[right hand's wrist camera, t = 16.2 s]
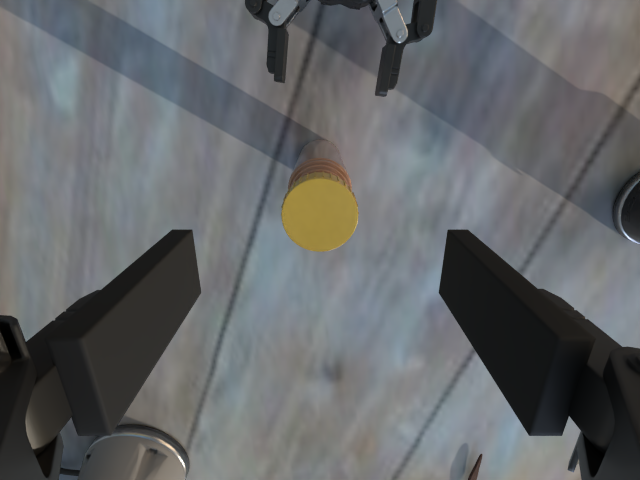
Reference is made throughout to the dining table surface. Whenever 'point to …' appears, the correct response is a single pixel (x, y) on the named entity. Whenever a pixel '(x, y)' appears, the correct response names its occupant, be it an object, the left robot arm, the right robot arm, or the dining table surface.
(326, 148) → the bottle
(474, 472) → the fork
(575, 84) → the dining table surface
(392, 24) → the left robot arm
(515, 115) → the dining table surface
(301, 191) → the cap
